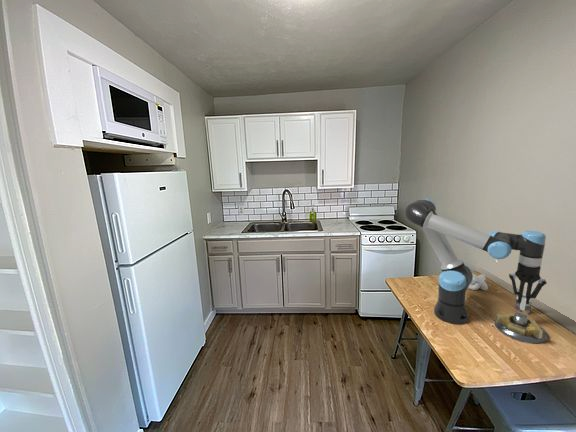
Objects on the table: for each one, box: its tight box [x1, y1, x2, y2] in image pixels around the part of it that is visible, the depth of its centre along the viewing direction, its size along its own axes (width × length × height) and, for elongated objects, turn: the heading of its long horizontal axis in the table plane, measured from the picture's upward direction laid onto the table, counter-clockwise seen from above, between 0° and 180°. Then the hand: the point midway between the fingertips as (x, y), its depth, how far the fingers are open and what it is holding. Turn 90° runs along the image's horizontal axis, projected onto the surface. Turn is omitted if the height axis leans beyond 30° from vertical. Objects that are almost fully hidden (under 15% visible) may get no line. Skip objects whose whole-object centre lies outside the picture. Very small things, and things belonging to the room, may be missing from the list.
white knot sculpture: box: [467, 272, 489, 291], centre depth 151 cm, size 11×12×9 cm
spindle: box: [513, 312, 529, 328], centre depth 113 cm, size 5×5×8 cm
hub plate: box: [493, 317, 548, 345], centre depth 114 cm, size 18×18×2 cm
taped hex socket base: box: [495, 310, 543, 339], centre depth 114 cm, size 15×16×4 cm
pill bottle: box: [514, 291, 532, 315], centre depth 126 cm, size 6×6×10 cm
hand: (522, 308), depth 117 cm, fingers closed
